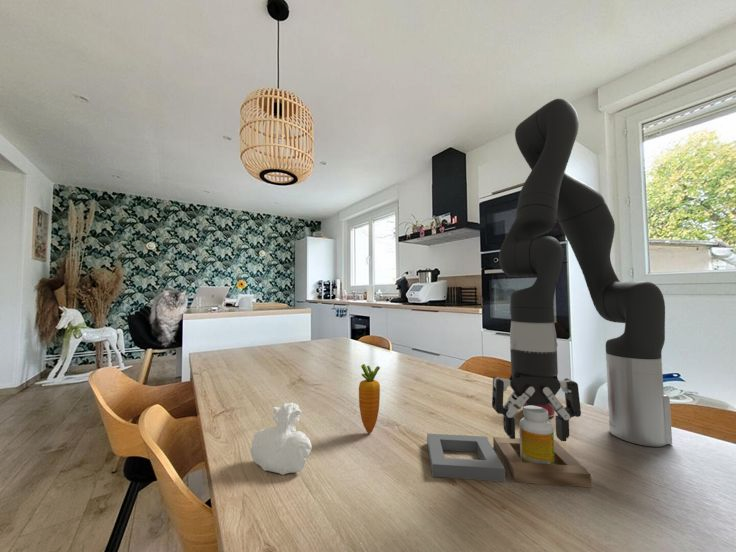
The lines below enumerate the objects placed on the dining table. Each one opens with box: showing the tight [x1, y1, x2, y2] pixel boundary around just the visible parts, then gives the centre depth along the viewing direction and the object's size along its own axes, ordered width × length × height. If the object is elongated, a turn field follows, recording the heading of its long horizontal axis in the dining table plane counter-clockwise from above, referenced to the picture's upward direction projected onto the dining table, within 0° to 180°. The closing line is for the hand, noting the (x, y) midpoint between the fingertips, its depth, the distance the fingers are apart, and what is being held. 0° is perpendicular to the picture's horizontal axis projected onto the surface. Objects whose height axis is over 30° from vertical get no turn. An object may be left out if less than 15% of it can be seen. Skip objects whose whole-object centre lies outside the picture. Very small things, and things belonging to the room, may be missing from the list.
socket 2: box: [492, 436, 592, 488], centre depth 55 cm, size 12×12×2 cm
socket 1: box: [426, 433, 506, 482], centre depth 57 cm, size 12×12×2 cm
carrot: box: [358, 363, 381, 435], centre depth 68 cm, size 5×5×15 cm
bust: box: [250, 401, 313, 476], centre depth 56 cm, size 12×8×11 cm
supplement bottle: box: [518, 406, 555, 464], centre depth 55 cm, size 5×5×10 cm
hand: (535, 438), depth 55 cm, fingers open, 8 cm apart
